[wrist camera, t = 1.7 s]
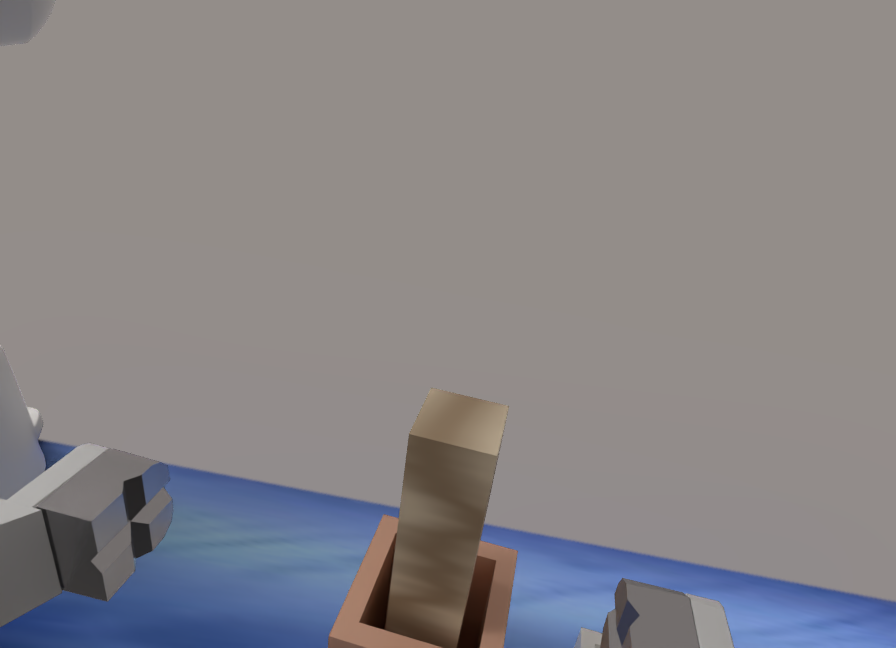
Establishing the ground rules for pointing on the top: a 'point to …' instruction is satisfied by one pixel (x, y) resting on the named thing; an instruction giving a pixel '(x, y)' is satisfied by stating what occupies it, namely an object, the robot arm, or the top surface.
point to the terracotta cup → (365, 608)
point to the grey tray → (588, 639)
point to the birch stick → (442, 514)
